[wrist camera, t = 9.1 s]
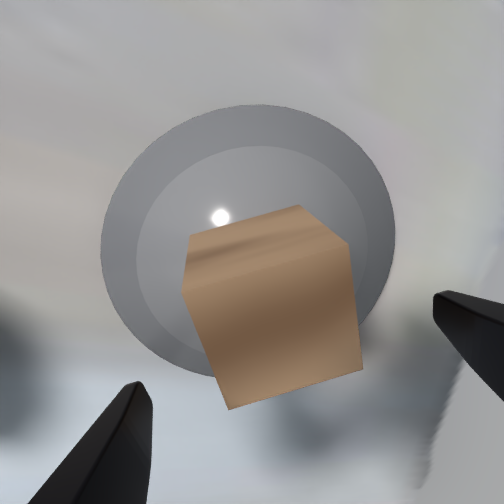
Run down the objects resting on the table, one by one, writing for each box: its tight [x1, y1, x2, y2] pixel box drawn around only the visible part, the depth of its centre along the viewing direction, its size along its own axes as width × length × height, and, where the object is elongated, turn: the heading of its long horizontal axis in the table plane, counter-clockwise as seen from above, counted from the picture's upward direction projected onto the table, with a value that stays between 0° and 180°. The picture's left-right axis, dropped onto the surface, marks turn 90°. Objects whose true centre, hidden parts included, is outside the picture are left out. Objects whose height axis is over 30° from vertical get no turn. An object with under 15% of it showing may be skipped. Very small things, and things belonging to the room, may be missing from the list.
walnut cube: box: [181, 204, 363, 410], centre depth 12 cm, size 5×5×5 cm
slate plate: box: [101, 105, 395, 377], centre depth 15 cm, size 14×14×1 cm
